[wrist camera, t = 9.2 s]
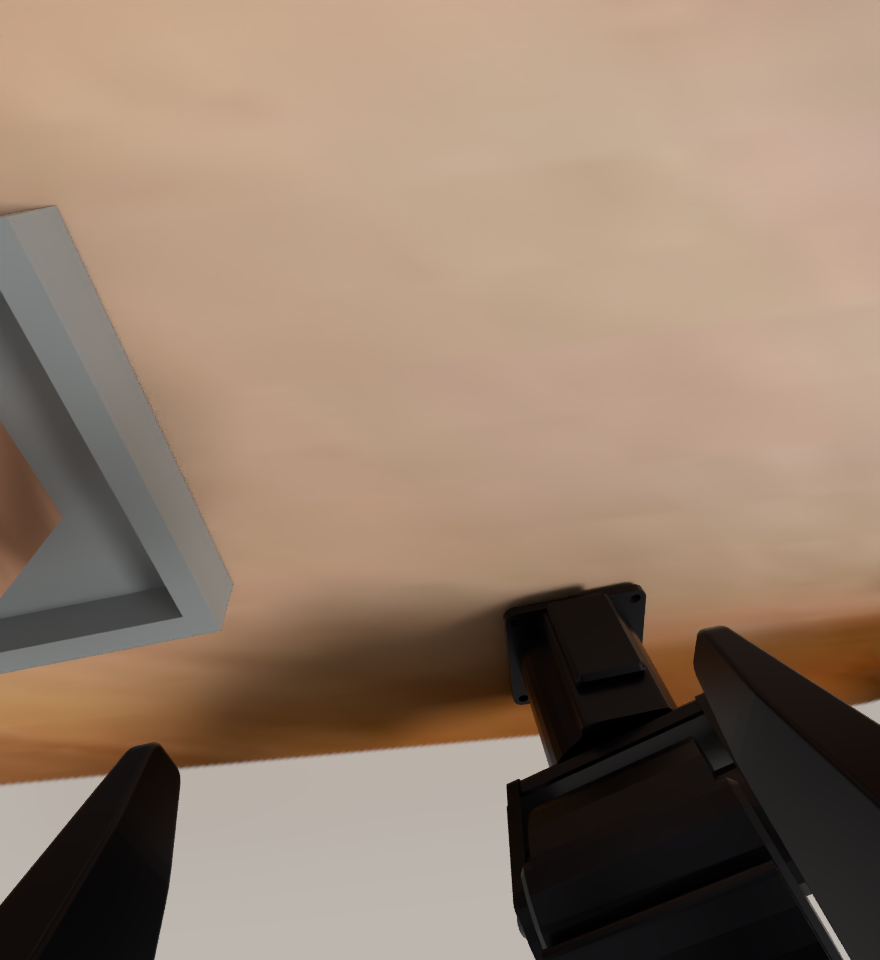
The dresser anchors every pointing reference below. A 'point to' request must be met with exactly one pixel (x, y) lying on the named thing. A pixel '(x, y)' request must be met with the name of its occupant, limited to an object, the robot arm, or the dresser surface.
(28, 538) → the block
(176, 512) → the tray
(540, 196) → the dresser surface
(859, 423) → the dresser surface
